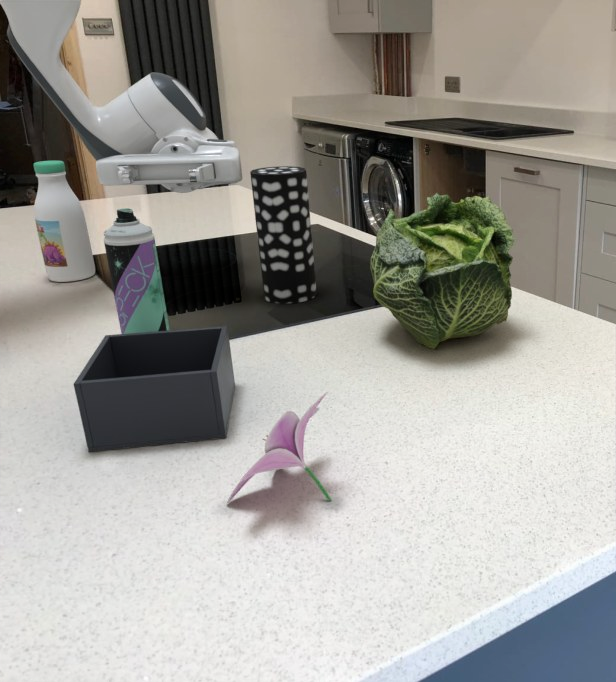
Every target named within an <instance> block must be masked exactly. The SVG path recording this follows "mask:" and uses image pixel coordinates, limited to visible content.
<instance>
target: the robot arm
mask: <svg viewBox="0 0 616 682" xmlns="http://www.w3.org/2000/svg"><path fill="white" fill-rule="evenodd" d="M0 5H1V7H2V9H3V11H4V13H5V15H6V17H7V19H8V26H7V30H6V36H7V38H8V41H9V43H10V45H11V47H12V49H13V50H14V52H15V53H16V55H17V57H18V58H19V60H20V61H21V62H22V64H23V65H24V66H25V68H26V69H27V71H28V72H29V73H30V74H31V76H32V77H33V79H34V80H35V82H37V84H38V85H39V86H40V88H41V89H42V90H43V92H44V93H45V94H46V95H47V97H48V98H49V99H50V100H51V102H52V103H53V104H54V105H55V107H56V108H57V109H58V110H59V112H60V113H61V114H62V115H63V117H64V118H65V119H66V121H67V122H68V123H69V124H70V126H71V127H72V129H73V130H74V131H75V133H76V134H77V136H78V137H79V139H80V140H81V142H82V143H83V145H84V146H85V148H86V149H87V151H88V152H89V153H90V155H91V157H93V159H94V160H95V161H96V162H95V171H96V175H97V180H98V182H99V184H100V185H102V186H106V187H108V186H109V187H110V186H141V185H142V186H143V185H161V186H162V187H164V188H165V189H166V190H169V191H171V192H175V193H178V194H179V193H180V194H186V193H191V192H195V191H196V190H203V189H204V188H208V187H212V186H214V187H215V186H223V185H232V184H237V183H239V182H241V181H243V171H242V162H241V161H242V160H241V155H240V150H239V149H238V148H237V143H236V141H235V140H227V139H219V137H218V136H217V135H216V134H215V133H214V132H213V131H212V130H211V129H209V128H208V127H207V115H206V112H205V111H204V109H203V107H202V106H201V104H200V101H198V99H197V98H196V97H195V95H194V94H193V93H192V91H190V90H189V88H188V87H187V86H186V85H185V84H184V83H182V82H181V80H179V79H177V78H176V77H173V76H171V75H168V74H165V73H161V72H155V71H154V72H150V73H148V74H147V75H146V76H144V77H143V78H141V79H139V80H138V81H136V82H135V83H134V84H132V85H131V86H129V87H128V88H127V89H126V90H125V91H123V92H122V93H121V94H119V95H118V96H117V97H115V98H114V99H112V100H111V101H109V102H108V103H107V104H105V105H103V106H95V105H94V104H93V103H92V102H91V101H90V99H89V98H88V96H87V95H86V93H84V91H83V90H82V89H81V87H80V86H79V85H78V83H77V82H76V80H75V79H74V78H73V76H72V75H71V73H69V71H68V69H66V67H65V65H64V63H63V62H62V59H61V56H60V55H61V54H60V53H61V48H62V46H63V44H64V41H65V40H66V38H67V36H68V34H69V32H70V30H71V28H72V27H73V25H74V23H75V21H76V19H77V16H78V14H79V11H80V8H81V5H82V0H0Z"/></svg>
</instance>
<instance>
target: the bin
mask: <svg viewBox="0 0 616 682" xmlns="http://www.w3.org/2000/svg"><path fill="white" fill-rule="evenodd" d="M228 327H229V326H227V325H222V326H209V327H196V328H184V329H169V330H168V331H155V332H142V333H129V334H121V333H119V334H118V333H117V334H116V333H115V334H105V336H104V337H103V338H102V339H101V341H100V343H99V345H98V346H97V347H96V349H95V351H94V352H93V353H92V354H91V356H90V358H89V360H88V361H87V363H86V364H85V365H84V367H83V368H82V370H81V372H80V373H79V375H78V376H77V378H76V380H75V381H74V383H73V388H74V392H75V393H74V394H75V397H76V402H77V407H78V411H79V415H80V420H81V425H82V428H83V433H84V438H85V443H86V447H87V450H88V453H93V452H102V451H112V450H120V449H133V448H141V447H150V446H151V447H152V446H162V445H169V444H170V445H171V444H180V443H181V444H182V443H189V442H191V443H192V442H198V441H199V442H200V441H209V440H217V439H218V440H220V439H227V434H228V428H229V422H230V418H231V411H232V404H233V399H234V393H235V387H236V381H235V373H234V365H233V359H232V358H233V356H232V350H231V343H230V337H229V336H230V334H229V328H228Z"/></svg>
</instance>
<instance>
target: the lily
mask: <svg viewBox="0 0 616 682" xmlns="http://www.w3.org/2000/svg"><path fill="white" fill-rule="evenodd" d="M328 393H329V391H327V392H325V393H324V394H323V395H321V396H320V397H319V398H318V399H317V400H316V401H315V402H314V403H313V404H312V405H310V407H309V408H308V409H307V410H306V411H305V413H304V414H303V415H302V416H301V418H299V415H298V414H297V413H295V412H294V411H292V410H287V411H285V412H284V413H283V414H282V415H281V416H280V417H279V418H278V420H277V421H276V422H275V423H274V425H273V426H272V428H271V429H270V432H269V433H268V434H267V435H266V436H265V437H266V438H262V441H265V442H264V452H265V453H264V455H262V456H261V457H260V458H259V459H258V460H257V461H256V462H255V463H254V464H253V465H252V466H251V467H250V468H249V469H248V470H247V472H246V473H245V474H244V475H243V476H242V478H241V479H240V481H239V482H238V483H237V485H236V486H235V487H234V488H233V491H232V492H231V494H230V496H229V497H228V499H227V501H226V505H229V503H230V502H231V501H232V500H233V499H234V498H235V496H236V495H237V494H238V493H239V492H240V491H241V489H243V487H244V486H245V485H246V484H247V483H248V482H249V481H250V480H251V479H252V478H253V477H254V476H255V475H257V474H260V473H266V472H271V471H277V470H283V469H289V468H294V467H295V468H297V467H301V468H303V469H304V470H305V472H307V474H308V475H309V476H310V477H311V479H312V480H313V481H314V483H315V484H316V485H317V487H318V488H319V490H320V491H321V493H322V494H323V495H324V497H325V498H326V500H327V501H328V502H329V501H331V500H332V498H331V496H330V495H329V494H328V492H327V490H326V489H325V488H324V486H323V485H322V484H321V482H320V480H319V479H318V477H316V475H315V474H314V473H313V472H312V470H311V469H310V468H309V467H308V465H307V464H306V463H305V457H304V447H305V446H304V442H305V434H306V429H307V425H308V423H309V420H310V419H311V418H312V417H313V416H314V415H315V414H317V412H319V410H320V407H318V406H319V405H320V403H321V402H322V400H323V399H325V397H326V396H327V395H328Z"/></svg>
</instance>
